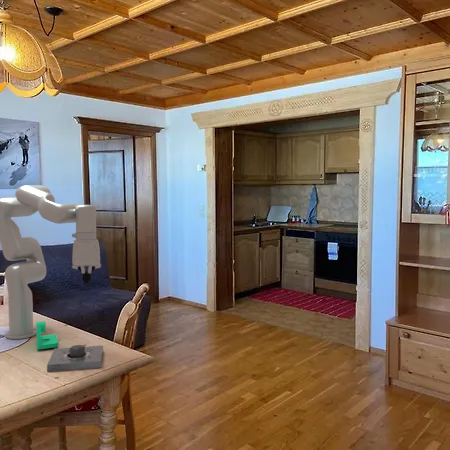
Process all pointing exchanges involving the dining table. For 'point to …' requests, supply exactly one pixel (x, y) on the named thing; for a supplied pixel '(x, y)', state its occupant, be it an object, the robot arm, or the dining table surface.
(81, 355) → the dark gray cylinder
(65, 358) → the mount plate
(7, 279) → the robot arm
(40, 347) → the camera mount
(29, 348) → the dining table surface
